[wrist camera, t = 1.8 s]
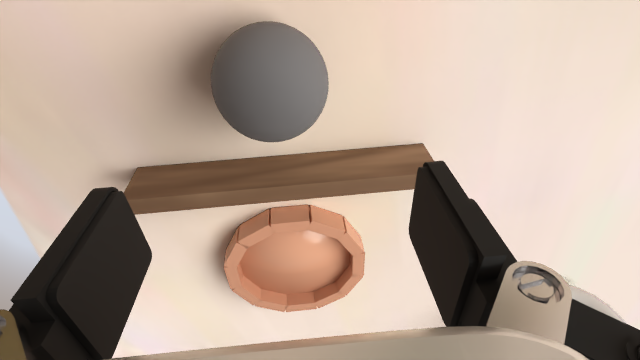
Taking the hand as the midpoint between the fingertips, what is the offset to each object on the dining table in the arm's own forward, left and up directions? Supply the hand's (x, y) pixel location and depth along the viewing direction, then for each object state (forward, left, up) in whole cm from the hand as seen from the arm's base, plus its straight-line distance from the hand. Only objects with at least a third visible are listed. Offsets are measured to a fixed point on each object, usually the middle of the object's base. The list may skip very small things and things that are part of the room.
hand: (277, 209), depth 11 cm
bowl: (+16, 0, -12) cm, 20 cm away
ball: (-1, 0, -9) cm, 9 cm away
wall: (+6, 0, -12) cm, 14 cm away
